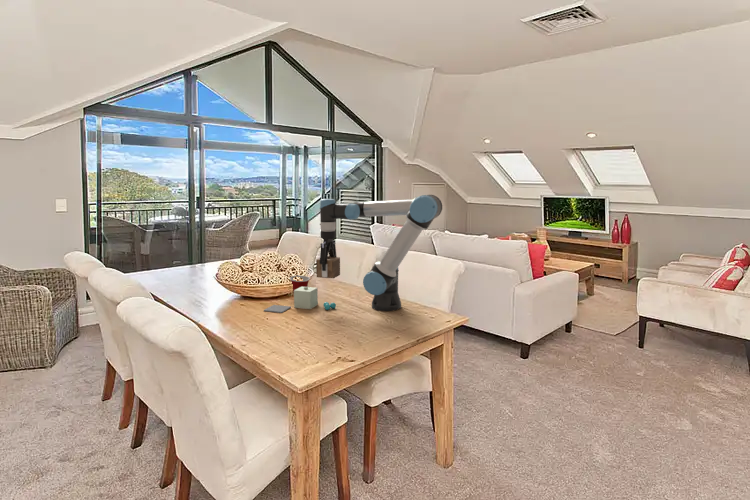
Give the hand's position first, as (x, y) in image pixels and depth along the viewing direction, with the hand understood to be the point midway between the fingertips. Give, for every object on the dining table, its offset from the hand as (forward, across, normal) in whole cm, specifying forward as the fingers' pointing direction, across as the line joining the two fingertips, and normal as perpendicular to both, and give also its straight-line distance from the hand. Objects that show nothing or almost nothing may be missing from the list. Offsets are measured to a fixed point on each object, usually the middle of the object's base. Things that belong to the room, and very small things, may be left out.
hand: (328, 275), depth 238 cm
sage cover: (+17, -1, -13) cm, 22 cm away
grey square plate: (+17, +9, -24) cm, 31 cm away
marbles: (+17, 0, -6) cm, 18 cm away
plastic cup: (+18, -13, -22) cm, 31 cm away
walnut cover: (0, 0, 0) cm, 0 cm away
